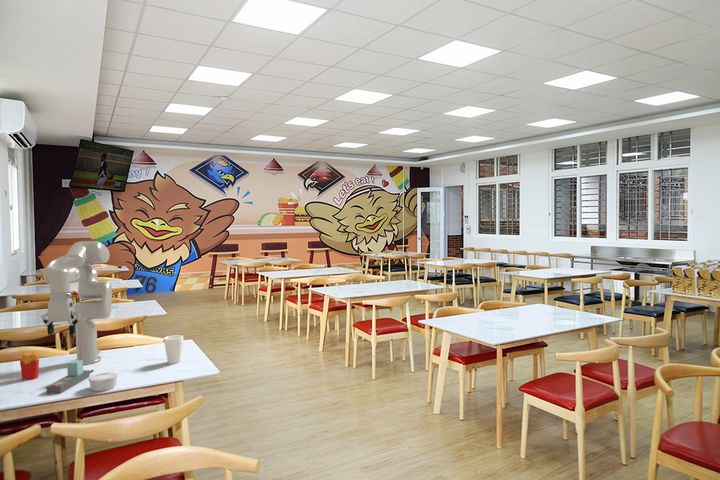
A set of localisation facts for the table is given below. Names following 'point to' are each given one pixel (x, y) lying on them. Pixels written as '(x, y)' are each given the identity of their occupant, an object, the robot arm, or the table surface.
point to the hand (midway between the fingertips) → (61, 334)
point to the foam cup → (173, 348)
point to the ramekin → (103, 381)
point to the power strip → (67, 382)
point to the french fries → (29, 365)
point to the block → (75, 367)
